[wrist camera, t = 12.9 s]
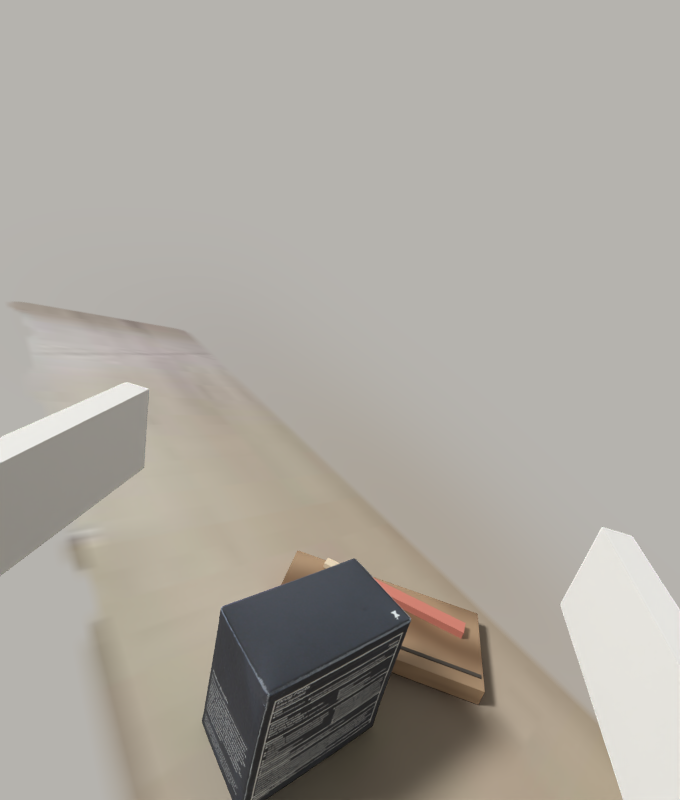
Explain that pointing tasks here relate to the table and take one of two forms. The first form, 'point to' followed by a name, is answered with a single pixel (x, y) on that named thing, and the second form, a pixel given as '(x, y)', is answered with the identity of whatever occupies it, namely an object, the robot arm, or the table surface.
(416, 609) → the carpenter pencil
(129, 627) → the table surface
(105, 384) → the table surface
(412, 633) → the wooden board
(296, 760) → the small box
